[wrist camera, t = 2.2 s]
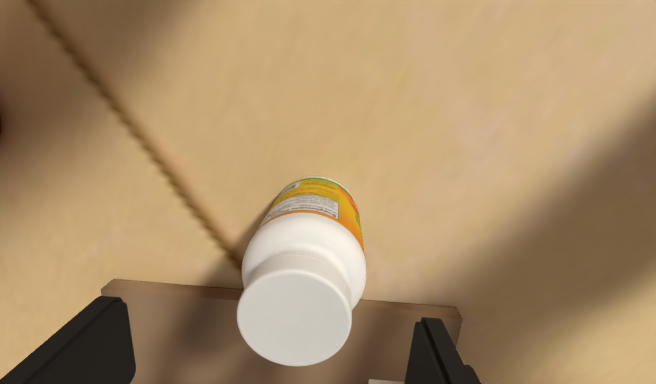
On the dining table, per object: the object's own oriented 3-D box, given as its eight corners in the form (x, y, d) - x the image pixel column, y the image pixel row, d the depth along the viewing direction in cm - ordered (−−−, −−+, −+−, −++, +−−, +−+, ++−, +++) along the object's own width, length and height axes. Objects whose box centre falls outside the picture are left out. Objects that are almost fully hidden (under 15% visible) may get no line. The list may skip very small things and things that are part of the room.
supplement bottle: (352, 257, 21) (361, 391, 11) (272, 247, 21) (215, 374, 11) (364, 179, 19) (386, 262, 10) (276, 169, 19) (214, 242, 10)
